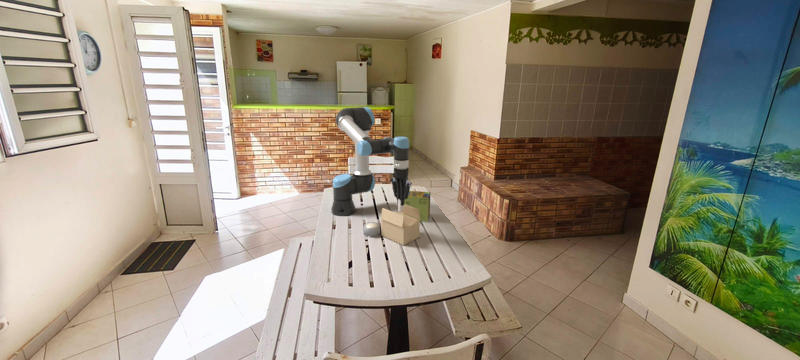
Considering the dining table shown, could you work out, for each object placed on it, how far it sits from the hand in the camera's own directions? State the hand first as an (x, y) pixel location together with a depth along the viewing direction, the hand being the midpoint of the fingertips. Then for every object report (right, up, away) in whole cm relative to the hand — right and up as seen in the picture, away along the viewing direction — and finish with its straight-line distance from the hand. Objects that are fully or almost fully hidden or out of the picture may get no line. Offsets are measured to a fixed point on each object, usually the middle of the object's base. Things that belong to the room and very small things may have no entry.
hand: (400, 210), depth 181 cm
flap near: (-4, -3, -4) cm, 6 cm away
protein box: (+10, -7, +30) cm, 32 cm away
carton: (0, -15, +5) cm, 15 cm away
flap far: (+4, -1, +5) cm, 7 cm away
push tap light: (-16, -13, +8) cm, 22 cm away
